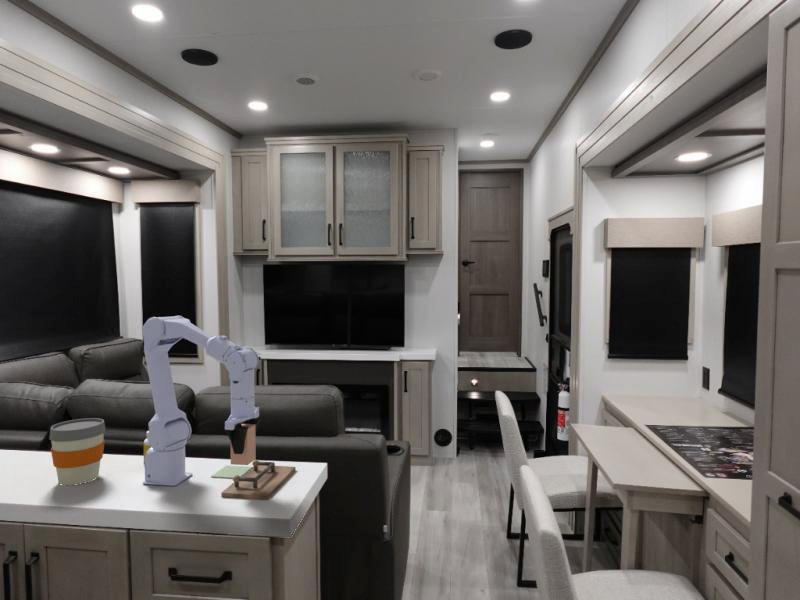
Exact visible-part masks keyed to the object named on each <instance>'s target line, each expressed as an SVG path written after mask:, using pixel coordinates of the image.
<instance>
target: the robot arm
mask: <svg viewBox="0 0 800 600" xmlns="http://www.w3.org/2000/svg"><path fill="white" fill-rule="evenodd" d="M141 332H142V338H143V343H144V345H143V352H144V357H145V363H146V367H147V374H148V379H149V384H150V390H151V395H152V400H153V401H152V402H153V406H154V412H155V413H154V416H152V418H151V419H150V421H148V425H147V426H148V431H149V433H148V441H149V444H150V446H151V448H150V449H149V450H148V451H147V453H146V456H145V466H144V480H143V481H142V484H143V485H157V486H158V485H159V486H173V487H174V486H177V485H179V484H181V482H183V481H185V480H187V479H188V478H189V477H191V476H192V475H193V472H188V471H187V472H186V444H187V443H188V439H190V437H191V435H192V427H191V426H192V425H191V424H190V421H189V420H188V418H187V413H186V412H184V411H183V410H181V409H180V408H179V407H178V402H177V401H178V400H177V397H176V396H177V395H176V392H175V385H174V381H173V380H174V379H173V374H172V369H171V363H170V359H169V354H168V352H169V351H170V350H171V348H172V347H173V346H174V345H175V344H177V343H178V342H179V341H180V340H182V339H185V340H188V341H189V342H191V343H193V344H195V345H197V346H199V347H201V348H204V349H205V353H206V355H207V356H208V357H210V358H212V359H214V360H216V361H218V362H219V363H221V364H223V365H224V366H225V369H226V371H227V372H228V376H229V377H228V378H229V379H230V415H229V417H228V418H227V420H226V421H224V428H223V429H224V432H225V433H226V435H227V436H228V439H229V440H230V441H231V444H232V448H233V451H234V454H242V453H243V451H244V443H245V437H246V433H247V430H248V428H249V427H245V426H242V425H241V424H255V433H257V429H258V426H259V424H260V422H261V417H260V407H258V406H257V407H256V406H255V396H256V395H255V369H256V368H257V367H258V365H259V362H260V359H259V354H258V353H257V352H256V351H255V350H254V349H253V348H252V347H246V348H243V347H242V345H240V344H238V343H237V344H236V343H234V342H232V341H230V340H229V339H228V337H227V336H226V335H215V336H212V335H210V334H209V333H207V332H206V331H204V330H203V329H201V328H200V327H198V326H196V325H195V324H193V323H191V320H190V319H189V318H185V317H183V316H182V315H175V316H163V317H162V316H158V317H156V316H152V317H150V318H149V317H148V319H147V320H146V322H145V323H144V324H143V326H142V327H141ZM230 441H229V442H230Z"/></svg>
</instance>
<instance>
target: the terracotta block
mask: <svg viewBox="0 0 800 600" xmlns="http://www.w3.org/2000/svg"><path fill="white" fill-rule="evenodd" d="M241 425H242V426H245V427H249V428H248V430H247V433H246V437H245V443H244V451H243V453H242V454H234V451H233V448H232V444H231V441H229V442H230V465H233V466H248V465H250V464H251V463H253V461H254V460H257V459H256V457H257V456H256V455H257V454H256V453H257V452H256V449H257V448H256V432H255V424H241Z"/></svg>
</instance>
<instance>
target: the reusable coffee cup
mask: <svg viewBox="0 0 800 600" xmlns="http://www.w3.org/2000/svg"><path fill="white" fill-rule="evenodd" d="M49 431H50V432H49V441H51V448H50V452H51V458H52V463H53V467H55V469H56V475H57V482H58V484H59V485H60V484H62V485H74V486H76V485H75V484H80V483H84V484H86V483H85V482H88V481H90V482H92V481H91V480H93V479H95V478H96V479H97V478H98V477H99V474H100V468H101V460H102V459H103V455H104V449H105V442H106V441H105V439H104V435H105V433H106V424H105V420H104V419H102V418H98V417H97V418H96V417H93V418H91V417H90V418H89V417H88V418H86V417H85V418H78V419H72V420H66V421H61V422H59V423H56V424H53V425H51V427H50V430H49ZM96 479H95V480H96ZM93 481H94V480H93ZM88 483H89V482H88ZM62 485H61V486H62ZM80 485H81V484H80Z"/></svg>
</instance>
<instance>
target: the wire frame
mask: <svg viewBox="0 0 800 600" xmlns="http://www.w3.org/2000/svg"><path fill="white" fill-rule="evenodd" d="M251 463H252V466H251V467H252V468H251V469H250V470H248V471H247V472H246V473H245V474H244V475H242V476H241V477H240V476H239V475H235V476H234V477H233V479H232V481H233V482H232V483H231V484H230V485H229V486H228V487H226V488H225V489H224V490H223V491H222V492H220V495H221V497H223V498H235V499H249V500H250V499H252V500H266V501H267V500H269V499H270V498H271V497H272V495H274V493H276V491H278V489H279V488H281V486H282V485H284V483H285V482H286V481H287V480H288V479H289V477H291V476H292V475H293V473H294V472H295V471H296V466H285V465H276V463H275V462H274V461H259V460H258V459H255V460H254V461H252V462H251Z"/></svg>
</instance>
